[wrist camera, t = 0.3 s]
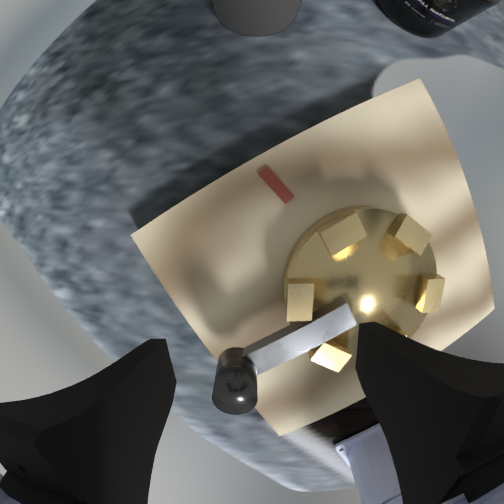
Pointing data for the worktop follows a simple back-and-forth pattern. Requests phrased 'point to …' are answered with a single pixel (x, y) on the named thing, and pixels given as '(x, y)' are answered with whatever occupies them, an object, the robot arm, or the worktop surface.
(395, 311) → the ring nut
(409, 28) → the supplement bottle
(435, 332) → the base board
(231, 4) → the bottle
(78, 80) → the worktop surface
